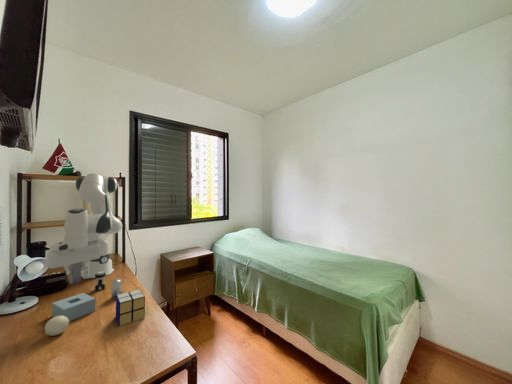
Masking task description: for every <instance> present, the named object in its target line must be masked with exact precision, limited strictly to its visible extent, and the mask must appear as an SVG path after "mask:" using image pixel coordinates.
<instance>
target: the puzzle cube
mask: <svg viewBox="0 0 512 384" xmlns="http://www.w3.org/2000/svg"><path fill="white" fill-rule="evenodd" d="M145 307H146V297H145V295H144V293H143V292H142V290H141V289H139V288H138V289H136V290H132V291H129V292H123V293H122V294H119V295H117V296H116V299H115V318H116V322H117V325H118V327H121V326H125V325H128V324H131V323H135V322H137V321H141V320H143V318H144V319H145V318H146V317H145V313H146V312H145V311H146V308H145ZM140 319H141V320H140ZM134 321H135V322H134Z"/></svg>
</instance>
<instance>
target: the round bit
mask: <svg viewBox="0 0 512 384" xmlns="http://www.w3.org/2000/svg"><path fill="white" fill-rule="evenodd" d="M110 289H111V292H110V293H111V295H110V296H111V300H116V296H117V295H119V294H123V293H122V292H123V279H122V278H116V279H113V280H111V288H110Z"/></svg>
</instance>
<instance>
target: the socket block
mask: <svg viewBox="0 0 512 384" xmlns="http://www.w3.org/2000/svg"><path fill="white" fill-rule="evenodd" d="M94 312H96V297H93V296H91V295H89V294H87V293H85V292H82V293H78V294H76V295H73V296H70V297H67V298H63V299H60V300H57V301H55V302H52V304H51V317H52V318H53V317H56V316H65V317H67V318H68V319H69V322H71V321H74V320H76V319H79V318H81V317H84V316H86V315H88V314H91V313H94Z"/></svg>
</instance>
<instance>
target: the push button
mask: <svg viewBox="0 0 512 384" xmlns="http://www.w3.org/2000/svg"><path fill="white" fill-rule="evenodd" d="M105 274H106V273H104V271H101V272H97V274H95V278H94V279H96V283H95V285H94V287H91V290H92V291H101V290H105V289H106V283H105V277H106V276H105Z"/></svg>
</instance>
